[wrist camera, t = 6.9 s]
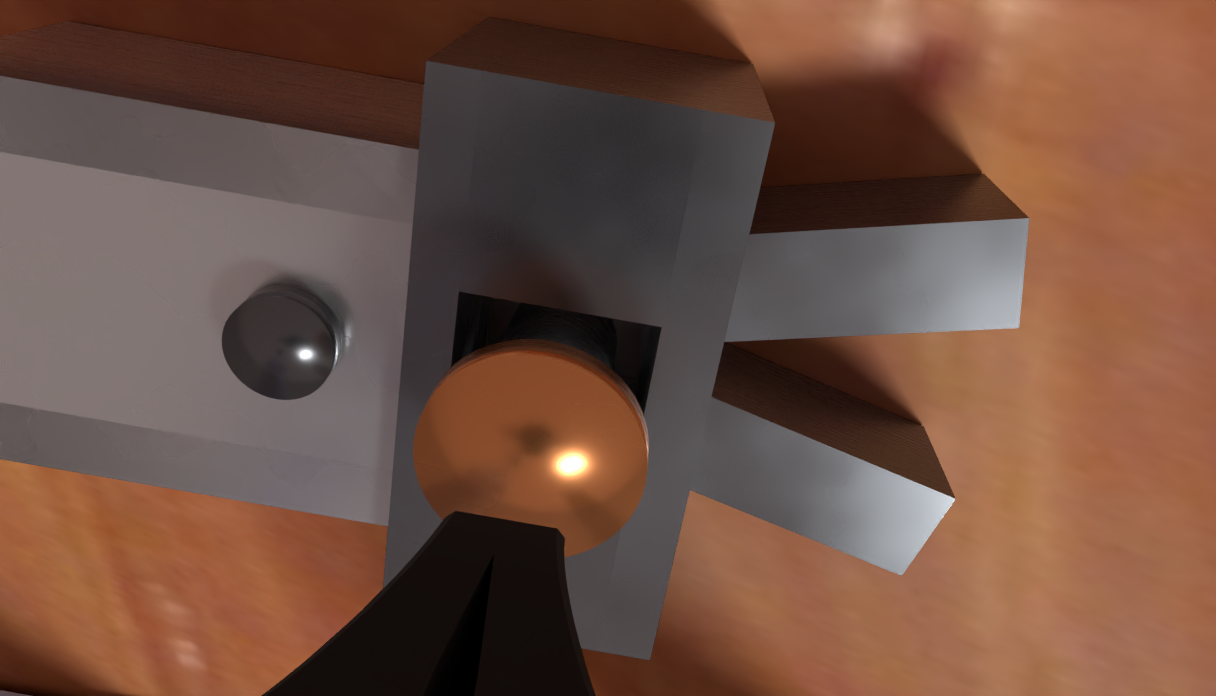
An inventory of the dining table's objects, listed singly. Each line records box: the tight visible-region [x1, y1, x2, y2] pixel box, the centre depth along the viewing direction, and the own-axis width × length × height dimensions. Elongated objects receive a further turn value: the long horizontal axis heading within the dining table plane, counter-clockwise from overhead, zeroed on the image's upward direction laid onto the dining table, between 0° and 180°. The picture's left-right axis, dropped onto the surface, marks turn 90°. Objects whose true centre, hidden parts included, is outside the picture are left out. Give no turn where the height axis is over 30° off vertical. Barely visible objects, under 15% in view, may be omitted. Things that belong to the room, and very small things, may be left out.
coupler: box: [383, 17, 1029, 660], centre depth 19 cm, size 15×10×5 cm
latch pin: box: [413, 303, 649, 557], centre depth 17 cm, size 3×3×4 cm
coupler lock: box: [0, 21, 424, 526], centre depth 18 cm, size 8×7×5 cm
